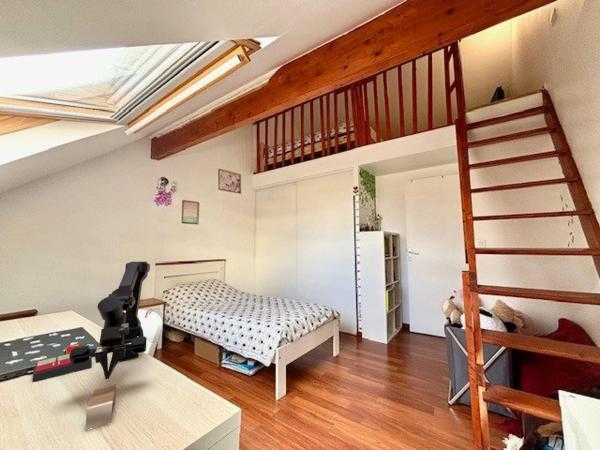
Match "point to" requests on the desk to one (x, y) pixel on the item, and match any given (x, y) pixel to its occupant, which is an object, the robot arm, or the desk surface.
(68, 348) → the race car
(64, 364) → the calculator
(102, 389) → the beige tall block
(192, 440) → the desk surface
